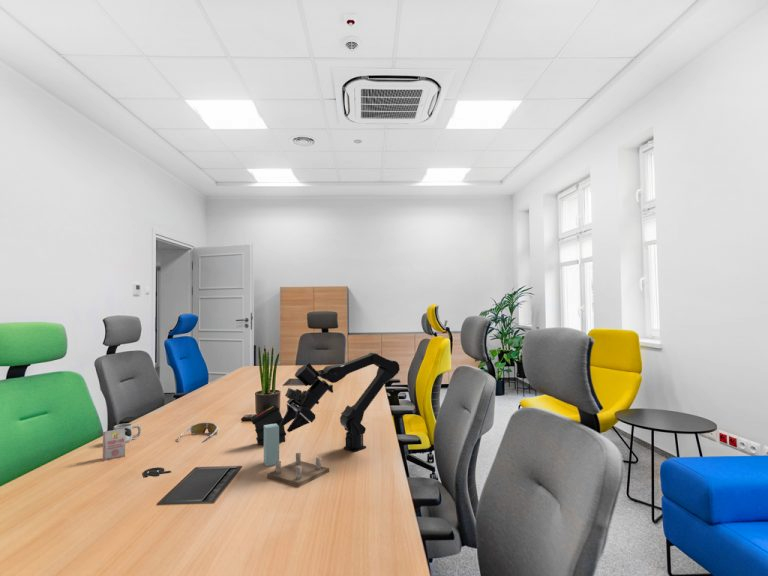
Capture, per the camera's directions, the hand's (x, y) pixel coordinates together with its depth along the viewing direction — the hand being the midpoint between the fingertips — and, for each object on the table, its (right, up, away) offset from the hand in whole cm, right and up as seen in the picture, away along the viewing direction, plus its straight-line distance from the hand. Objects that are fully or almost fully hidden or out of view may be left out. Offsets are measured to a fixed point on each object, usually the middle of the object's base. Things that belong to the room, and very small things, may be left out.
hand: (284, 428), depth 152 cm
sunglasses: (-44, -14, +29) cm, 54 cm away
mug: (-72, -14, +26) cm, 78 cm away
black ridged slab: (-11, -13, +20) cm, 27 cm away
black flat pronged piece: (-38, -12, -10) cm, 42 cm away
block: (-4, -11, -3) cm, 12 cm away
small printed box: (-65, -13, +6) cm, 67 cm away
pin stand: (+8, -11, -13) cm, 19 cm away
